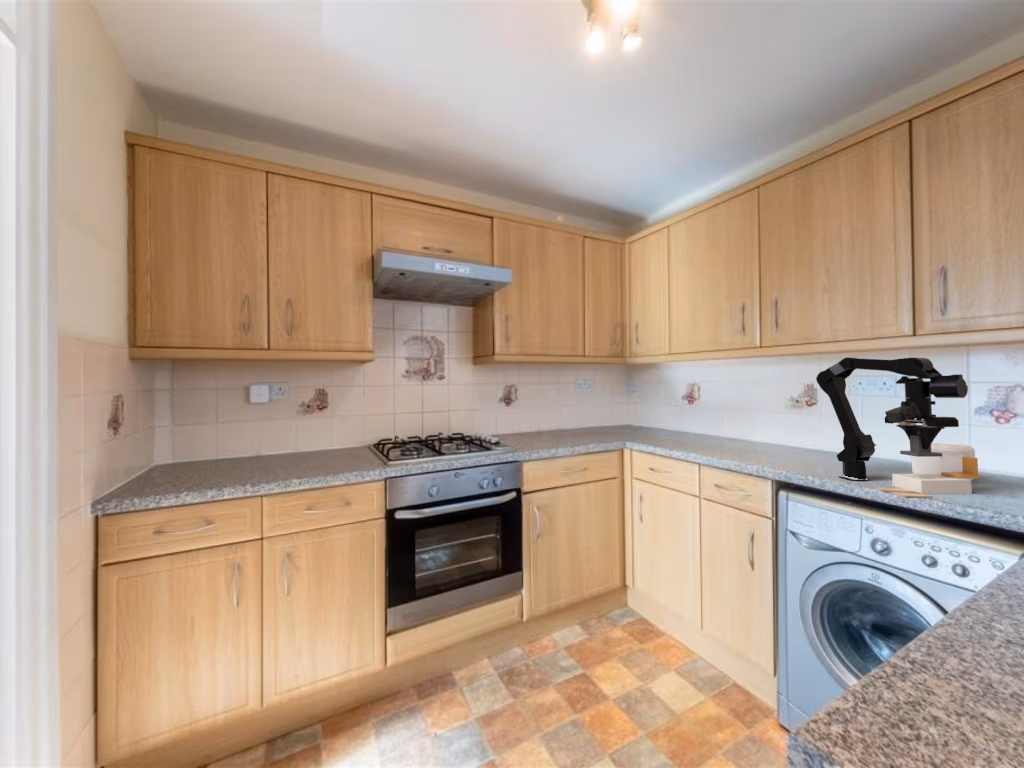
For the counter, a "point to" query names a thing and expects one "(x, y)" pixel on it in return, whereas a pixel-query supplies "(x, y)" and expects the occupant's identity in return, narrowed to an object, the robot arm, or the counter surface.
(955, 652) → the counter surface
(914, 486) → the white recessed block
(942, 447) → the cable organizer
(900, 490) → the cork pad
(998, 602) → the counter surface
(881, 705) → the counter surface
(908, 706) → the counter surface
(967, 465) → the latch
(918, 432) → the plug
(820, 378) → the robot arm
